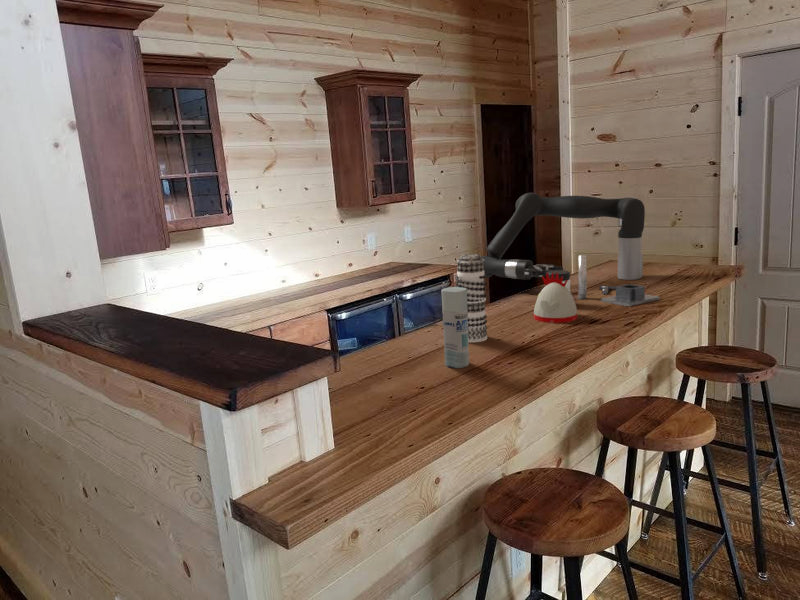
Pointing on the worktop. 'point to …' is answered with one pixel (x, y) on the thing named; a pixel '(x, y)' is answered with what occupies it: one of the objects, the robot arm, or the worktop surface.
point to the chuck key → (607, 288)
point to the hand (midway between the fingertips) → (557, 271)
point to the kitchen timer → (555, 302)
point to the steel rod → (581, 276)
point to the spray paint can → (455, 326)
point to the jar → (561, 273)
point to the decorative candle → (473, 294)
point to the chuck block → (630, 296)
